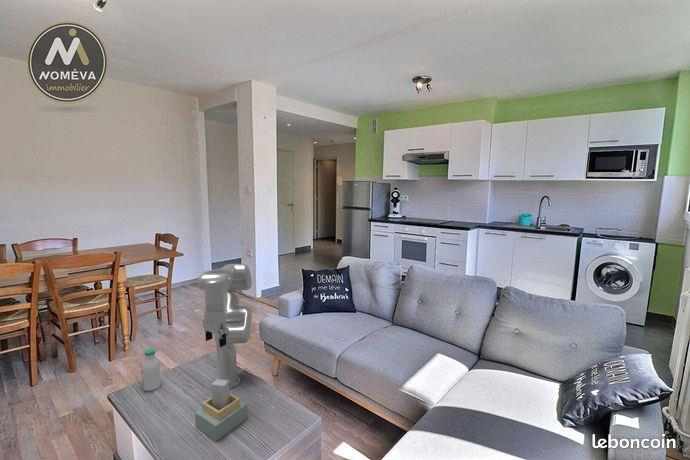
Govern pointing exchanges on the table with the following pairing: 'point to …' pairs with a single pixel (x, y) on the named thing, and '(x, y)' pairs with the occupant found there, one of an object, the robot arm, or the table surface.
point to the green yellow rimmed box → (220, 417)
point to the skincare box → (220, 394)
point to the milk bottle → (151, 371)
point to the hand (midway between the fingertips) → (215, 342)
